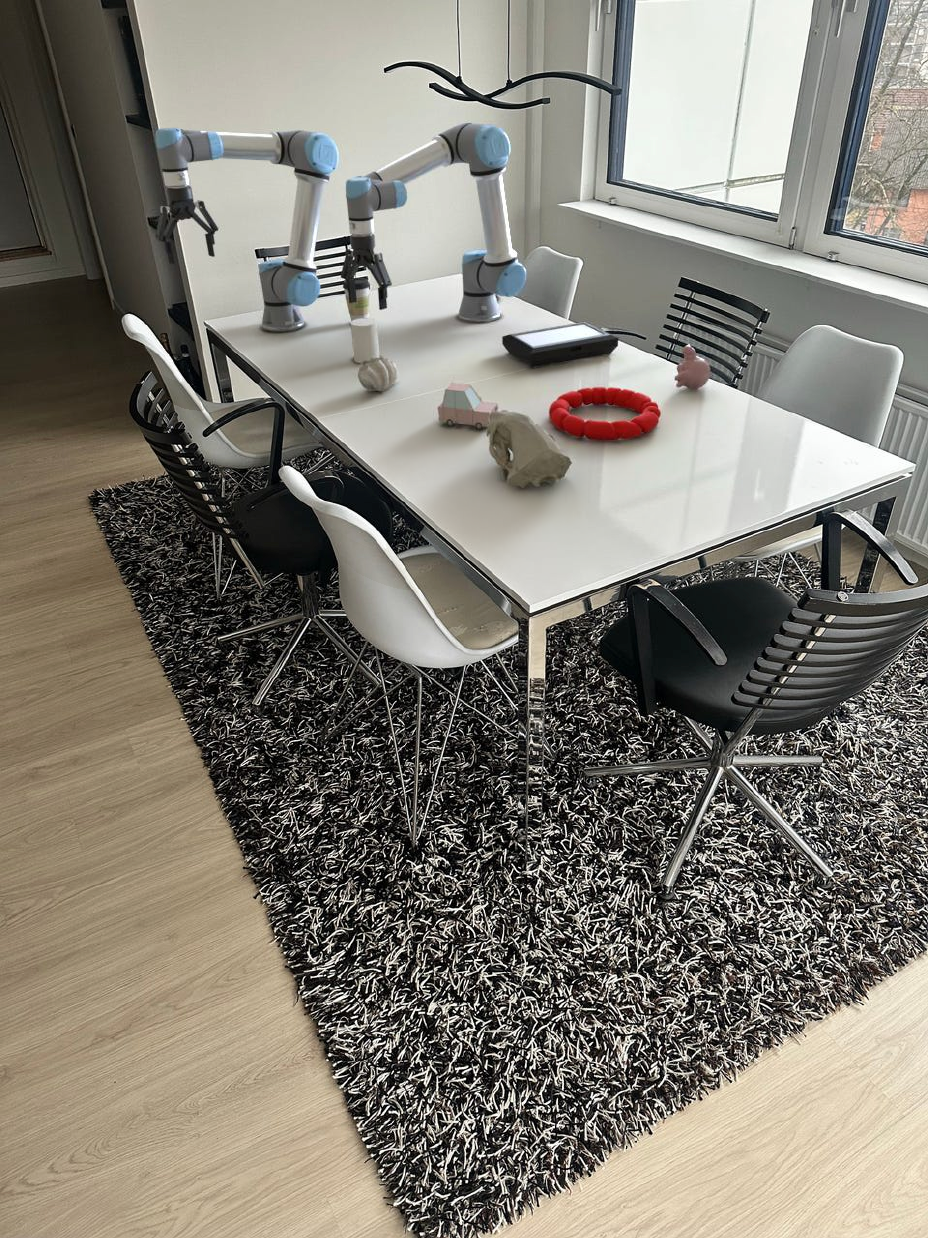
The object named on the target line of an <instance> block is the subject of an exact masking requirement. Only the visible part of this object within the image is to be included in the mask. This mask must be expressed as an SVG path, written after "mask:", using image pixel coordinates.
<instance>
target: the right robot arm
mask: <svg viewBox="0 0 928 1238" xmlns="http://www.w3.org/2000/svg"><path fill="white" fill-rule="evenodd" d="M510 154H511V143H510V139H509V137H508V135H507V133H506V132H505V131H504V130H503V129H502V128H500V127H499V126H495V125H493V124H488V123H487V124H483V123H473V122H464V123H460V124H457V125H455V126H452V127H451V128H449V129H446V130H444V131H443V132H440V133H439V134H437V135H435V136H433V138H432V140H431V142H429V143H426V144H425V145H423V146H421V147H419V148H417V149H415V150H413V151H411V152H410V153H409V152H408V153H407V154H405V155H403V156H402V157H399V158H398V159H396V160H394V161H392V162H390V163H388V164H386V165H383V166H382V167H380V168H378V169H376V170H374V171H372V172H370V173H368V174H366V175H363V176H362V175H355V176H353V177H350V178H348V179H347V180H346V181H345V198H346V206H347V217H348V228H349V230H348V231H349V234H350V236H349V241H350V248H346V249H345V251H344V252H345V253H344V254H345V258H344V262H343V264H342V269H341V273H340V278H341V279H343V280H344V281H346V285H347V291H348V295H349V303H353V302H357V298H356V286H355V280H353V278H355V276H356V274H357V273H358V270H359V269H360V267H363V268H366V269H367V270H368V271H369V272H370V274H371V275H372V276H373V278H374V280H375V282H376V283H377V285H378V287H377V295H378V296H377V297H378V309H379V310H380V311H382V310H386V309H387V308H388V302H387V299H388V287H390V286H392V285H393V283H392V279H391V277H390V275H389V272H388V270H387V267H386V264H385V262H384V257H383V253H382V252H378V253H375V247H376V236H375V234H374V233H375V224H374V222H375V221H374V212H378V211H385V210H393V209H395V210H396V209H398V208H402V207H404V206H405V205H406V203H407V199H408V192H407V188H406V185H407V184H409V183H411V182H414V181H415V180H417V179H418V178H420V177H423V176H424V175H426V174H428V173H430V172H432V171H434V170H436V169H438V168H440V167H444V168H447V167H449V166H451V165H454V164H467V165H468V169H469V174H470V176H471V177H472V178H473V179H475V183H476V189H477V195H478V202H479V209H480V215H481V223H482V228H483V229H482V230H483V235H484V242H485V247H486V248H485V249H479V250H477V249H476V250H472V251H468V252H465V253H464V254H463V255H462V257H461V258H462V259H461V260H462V261H461V269H462V293H463V295H462V299H461V303H460V307H459V310H458V318H459V319H460V320H461V321H463V322H467V323H490V322H493V321H496V320H498V319H499V318H500V317H501V310H500V308H499V304H498V302H499V300H500V297H506V298H513V297H515V296H516V295H518V294H519V293H520V292H521V291H522V289H523V287H525V283H526V280H527V270H526V268H525V267H524V265H523V264H522V263H520V262H519V261H518V260H519V259H518V253H517V251H516V250H514V248H513V247H512V241H511V233H510V227H509V225H510V224H509V219H508V211H507V204H506V196H505V188H504V181H503V173H504V172H505V171H506V168H507V167H506V164H507V162H508V160H509V156H511V155H510ZM499 296H500V297H499Z"/></svg>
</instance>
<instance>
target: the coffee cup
mask: <svg viewBox="0 0 928 1238" xmlns="http://www.w3.org/2000/svg"><path fill="white" fill-rule="evenodd" d="M353 280H355V286H356V298H357V302H353V303H349V295H348V291H347V285H346V281H345V280H344V281H343V285H342V288H343V290H344V297H345V301H346V305H347V310H348V314H349V318H350V322H351V321H353V320H356V319H361V318H369V317H370V316H369V313H370V287H371V283H370V282H369V279H367V278H365V277H354V278H353Z"/></svg>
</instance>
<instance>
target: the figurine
mask: <svg viewBox="0 0 928 1238" xmlns="http://www.w3.org/2000/svg"><path fill="white" fill-rule="evenodd" d="M682 354H683V358H684V359H683V361H682V362H679V363H678V364H677V365H676V372H677V375H675V376H674V381H675V382H676V381H677V382H676V384H675V386H676V388H681V387H686V388H688V389H693V390H694V389H695V390H696V389H700V388H703V387H704V386H705V385H706V384H707V383H708V382H709V379H710V377H711V367H710V364H709V362H708V361H706V359H704V358H702V357H700V356H697V353H696V350H695V349H694V347H692V345H690V344H686V345H685V346H684V347H683V348H682Z"/></svg>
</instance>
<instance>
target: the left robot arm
mask: <svg viewBox="0 0 928 1238" xmlns="http://www.w3.org/2000/svg"><path fill="white" fill-rule="evenodd" d="M155 141H156V147H157V148H156V149H157V151H158V156H159V160H160V165H161V171H162V177H163V181H164V186H166V188H165V192H166V196H167V200H168V206H164V205H159V216H158V217H159V218H158V222H157V227H156V231H155V235H154V238H155V240H157V241H158V242H161V243H162V247H163V251H164V253H165V254H167V258H168V262H169V264H171V265H176V259H175V255H174V251H173V250H174V249H173V245H172V241H170V238H171V236H172V234H173V232H174V230H175V228H176V227H177V224H178V223H179V221H185V220H191V219H192V220H194V221H195V222H196V224H198V225H199V226H200V227H201V228H202V229H203V230H204V231H205V233H204V237H205V242H206V249H207V253H208V254H207V255H208V256H209V257H212V258H214V257H215V256H216V255H215V251H214V249H215V248H214V245H215V244H216V241H215V233H216V232H218V231H219V227H218V226H217V224H216V222H215V221H214V219H213V218H212V216H211V214H210V213H209V211H208V210H207V208H206V206H205V205H206V204H205V201H203V200H201V199H198V200H196V201H194V195H193V188H192V186H191V179H190V173H189V167H188V163H189V164H190V163H196V162H204V161H215V160H219V159H223V160H224V159H226V160H246V161H247V160H249V161H268V162H270V163H271V164H273V165H281V166H286V167H290V168H293V169H294V170H293V175H294V176H295V178H296V179H297V183H296V192H295V200H294V207H293V213H292V214H293V215H292V222H291V230H290V240H289V246H288V255H287V256H286V258H277V259H271V260H266V261H262V262H260V263H259V264H258V275H259V281H260V287H261V292H262V293H261V294H262V299H263V313H262V319H261V326H262V330H264V331H265V332H271V333H286V332H293V331H296V330H297V331H298V330H300V329H302V328H304V326H305V319H304V317H303V314H302V312H301V310H300V307H308V306H310V305H312V304H313V303H315V302H316V300H317V299H318V298H319V296H320V292H321V283H320V280H319V279H318V277H317V270H318V267H317V266H316V264H315V262H314V260H315V259H314V258H315V251H316V246H317V245H316V243H317V238H318V237H317V236H318V230H319V223H320V214H321V208H322V201H323V195H324V194H323V193H324V187H325V185H327V184H329V182H330V178H331V177H330V176H331V173H333V172H334V171H335V170H336V169H337V167H338V164H339V159H340V157H339V155H340V154H339V150H338V147H337V145H336V143H335V141H334V140H333V139H332V138H331V137H330V136H329V135H327V134H325V133H321V132H317V131H307V130H301V129H299V130H289V131H271V132H269V133H268V134H261V133H242V132H227V131H209V130H208V131H207V130H191V129H190V130H189V129H182V128H179V127H163V128H158V129H157V130H156V131H155ZM196 208H197V209H198V210H199V212H200V213H201V215H202V217H203V218H204V220H205V221H206V222H205V221H204V220H203V219H202V218H201V217H200V216H199V215H198V214H197V212H195V211H196ZM169 213H171V214H170V217H169V220H168V214H169ZM167 220H168V223H167ZM166 224H167V225H166Z"/></svg>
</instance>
